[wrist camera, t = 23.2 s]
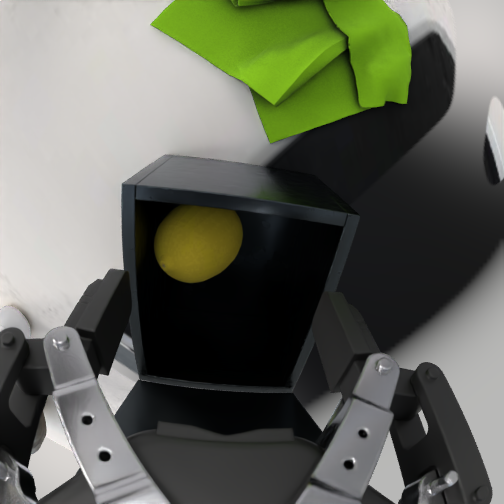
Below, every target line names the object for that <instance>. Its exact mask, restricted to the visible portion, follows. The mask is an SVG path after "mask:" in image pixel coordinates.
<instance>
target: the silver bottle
mask: <svg viewBox="0 0 504 504" xmlns="http://www.w3.org/2000/svg"><path fill="white" fill-rule="evenodd" d="M9 327H16V328H19V329H20V330H21V331H22V332H23V333H24V335H25V338H26V339H30V335H31V331H30V325H29V323H28V321H27V319H26V318H25V316H24V315H23V314H22V313H21V312H20V311H19V310H18V309H16V308H15V307H13V306H4V307H2V308H1V309H0V332H1V331H2V330H4V329H6V328H9Z"/></svg>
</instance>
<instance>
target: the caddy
mask: <svg viewBox="0 0 504 504" xmlns="http://www.w3.org/2000/svg"><path fill="white" fill-rule="evenodd" d="M180 204H184V205H193V206H202V207H211V208H219V209H227V210H234V211H235V212H236V213H237V215H238V217H239V218H240V221H241V224H242V230H243V237H242V244H241V247H240V249H239V251H238V254H237V256H236V257H235V259H234V260H233V261H232V262H231V263H230V264H229V265H228V267H227V268H226V269H224V270H223V271H222V272H221V273H219V274H217V275H215V276H213V277H211V278H209V279H207V280H205V281H202V282H196V283H187V282H182V281H179V280H176V279H174V278H172V277H171V276H169V275H168V274H167V273H166V272H165V271H164V270H163V269H162V268H161V267H160V265H159V263H158V261H157V259H156V256H155V251H154V238H155V234H156V231H157V228H158V227H159V225H160V223H161V222H162V221H163V219H164V218H165V217H166V216H167V215H168V213H169V212H171V211H172V210H173V209H174V208H176V207H177V206H179V205H180ZM121 212H122V246H123V263H124V270H125V271H128V272H129V277H130V288H131V297H132V310H131V315H130V318H129V321H130V328H131V335H132V341H133V347H134V353H135V359H136V364H137V369H138V374H139V379H140V380H146V381H151V382H157V383H164V384H171V385H178V386H186V387H194V388H204V389H214V390H227V391H244V392H292V391H293V388H294V387H295V384H296V383H297V380H298V378H299V376H300V374H301V372H302V370H303V368H304V365H305V363H306V361H307V359H308V356H309V354H310V352H311V350H312V347H313V345H314V343H315V339H314V336H313V332H312V321H313V318H314V315H315V312H316V310H317V307H318V304H319V301H320V299H321V296H322V294H323V292H324V291H329V292H335V290H336V287H337V285H338V282H339V279H340V276H341V274H342V271H343V268H344V265H345V262H346V260H347V256H348V254H349V251H350V248H351V245H352V242H353V239H354V235H355V232H356V229H357V226H358V223H359V219H360V215H359V214H358V213H357V212H355V211H354V210H353V209H352V208H351V207H350V206H349V205H348V204H347V203H346V202H345V201H343V200H342V199H341V198H340V197H339V196H338V195H337V194H335V193H334V192H333V191H332V190H331V189H330V188H328V187H327V186H326V185H325V184H324V183H323V182H321V181H320V180H319V179H318V178H317V177H315V176H314V175H310V174H305V173H300V172H294V171H289V170H283V169H277V168H271V167H265V166H259V165H252V164H245V163H238V162H230V161H223V160H214V159H206V158H196V157H186V156H175V155H164V156H162V157H161V158H159V159H158V160H156V161H154V162H153V163H151V164H150V165H148V166H147V167H145V168H144V169H142V170H141V171H140V172H138V173H137V174H135V175H134V176H132V177H131V178H129V179H128V180H127V181H125V182H124V183H122V194H121Z"/></svg>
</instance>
